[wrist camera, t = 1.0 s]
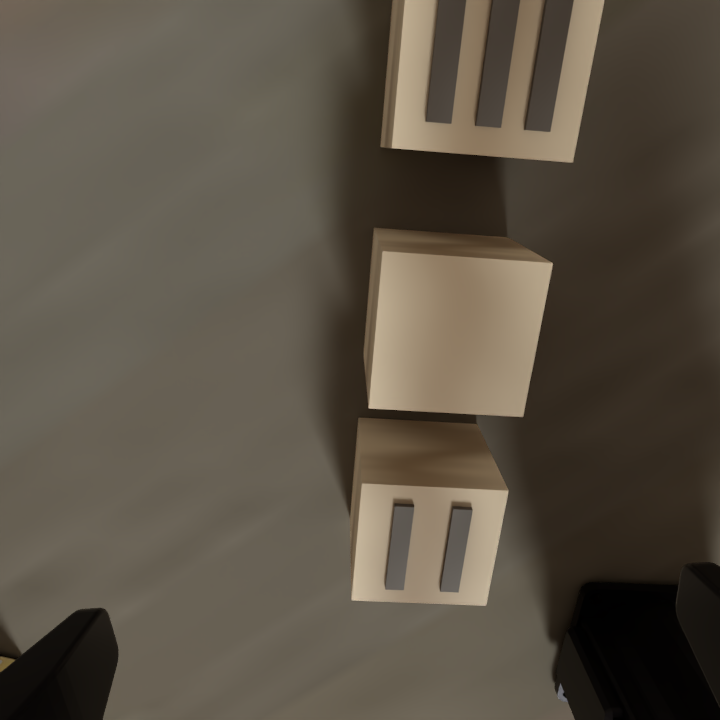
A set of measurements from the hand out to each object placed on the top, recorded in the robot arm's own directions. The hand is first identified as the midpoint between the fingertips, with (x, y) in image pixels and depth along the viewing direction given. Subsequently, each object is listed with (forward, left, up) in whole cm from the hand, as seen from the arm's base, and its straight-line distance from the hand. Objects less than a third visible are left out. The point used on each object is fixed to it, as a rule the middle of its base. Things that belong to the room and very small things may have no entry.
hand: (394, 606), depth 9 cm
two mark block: (-2, +5, -12) cm, 13 cm away
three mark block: (-2, -9, -12) cm, 15 cm away
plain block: (-2, -2, -12) cm, 13 cm away
